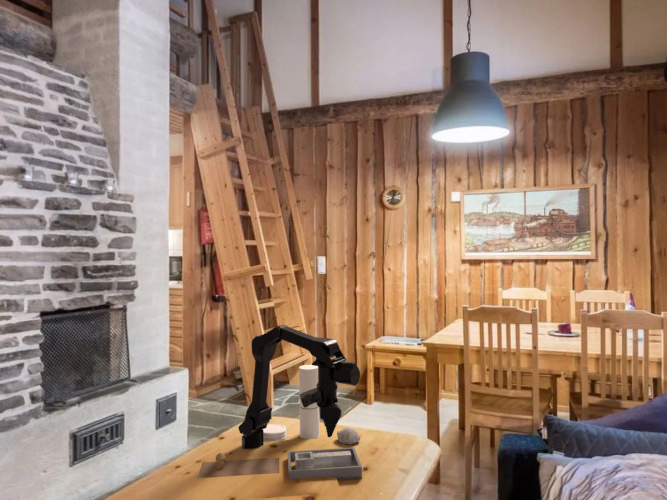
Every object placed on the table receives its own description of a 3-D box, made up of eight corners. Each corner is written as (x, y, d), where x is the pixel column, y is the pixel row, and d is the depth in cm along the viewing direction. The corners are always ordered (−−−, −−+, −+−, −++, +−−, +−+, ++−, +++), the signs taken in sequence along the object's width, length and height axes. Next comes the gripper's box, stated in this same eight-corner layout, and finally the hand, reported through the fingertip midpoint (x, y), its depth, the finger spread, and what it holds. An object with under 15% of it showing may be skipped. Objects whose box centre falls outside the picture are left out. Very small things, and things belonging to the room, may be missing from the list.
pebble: (334, 445, 178) (334, 430, 178) (338, 436, 186) (338, 422, 186) (359, 446, 177) (358, 432, 176) (362, 438, 184) (362, 424, 184)
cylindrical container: (320, 432, 190) (319, 364, 190) (318, 439, 183) (317, 369, 183) (301, 431, 191) (300, 364, 191) (298, 439, 184) (297, 369, 184)
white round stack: (258, 434, 190) (258, 424, 190) (285, 431, 192) (285, 422, 192) (259, 444, 180) (259, 434, 180) (287, 442, 182) (287, 432, 182)
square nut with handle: (349, 462, 162) (349, 449, 162) (352, 469, 157) (352, 456, 157) (295, 465, 160) (294, 452, 160) (295, 473, 155) (295, 460, 155)
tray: (354, 458, 167) (354, 447, 167) (362, 478, 152) (361, 466, 152) (287, 462, 164) (287, 451, 164) (288, 483, 150) (288, 471, 150)
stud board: (279, 461, 165) (278, 443, 165) (279, 476, 154) (279, 457, 154) (202, 466, 162) (202, 447, 162) (197, 481, 151) (197, 462, 151)
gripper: (299, 374, 167) (300, 422, 167) (302, 390, 148) (303, 444, 148) (333, 372, 168) (334, 420, 168) (341, 388, 149) (341, 442, 150)
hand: (327, 431), depth 159 cm, fingers open, 9 cm apart
